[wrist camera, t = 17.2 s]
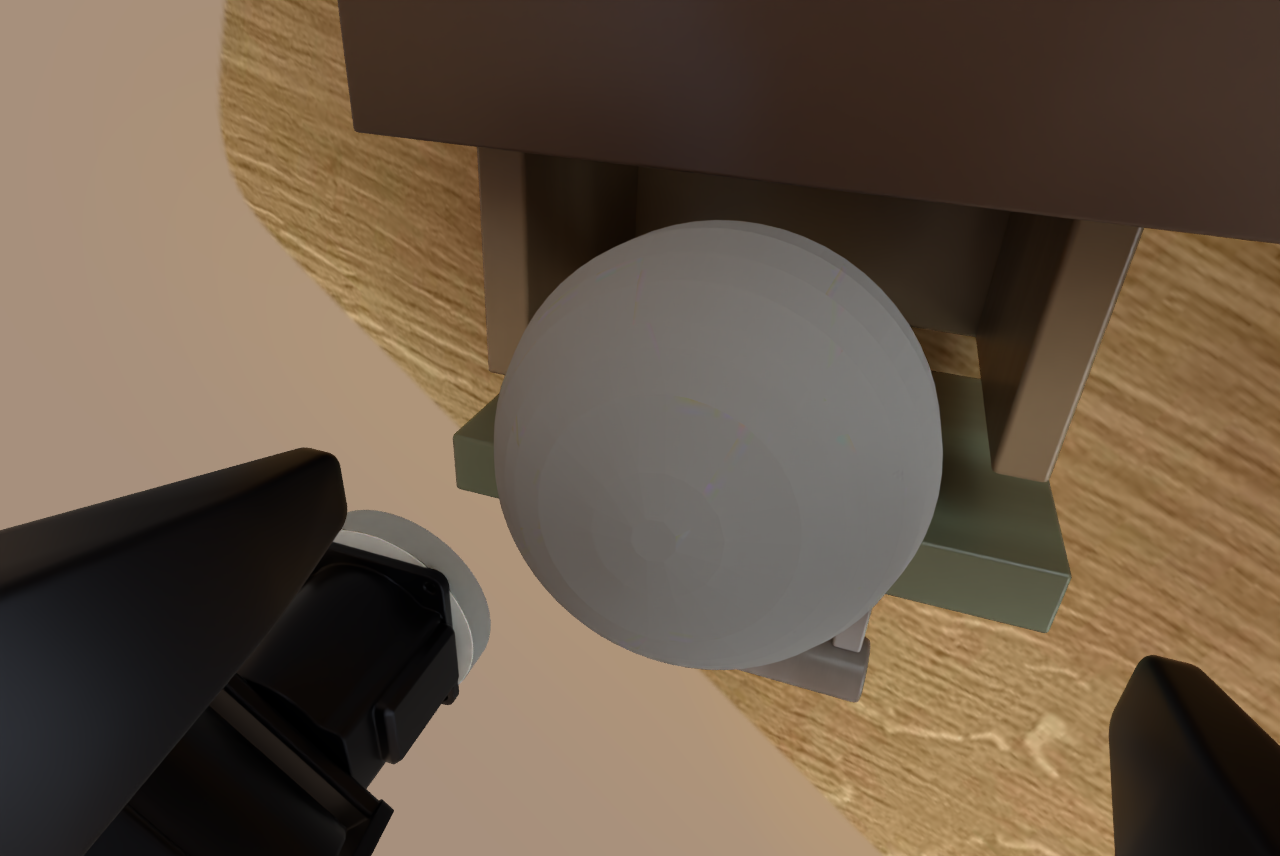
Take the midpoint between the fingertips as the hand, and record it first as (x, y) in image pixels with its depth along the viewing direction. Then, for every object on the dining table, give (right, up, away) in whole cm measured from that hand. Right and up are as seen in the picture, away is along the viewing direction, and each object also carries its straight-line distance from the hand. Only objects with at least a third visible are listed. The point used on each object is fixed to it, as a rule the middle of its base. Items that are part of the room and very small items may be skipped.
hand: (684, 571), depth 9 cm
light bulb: (+3, +4, +8) cm, 9 cm away
